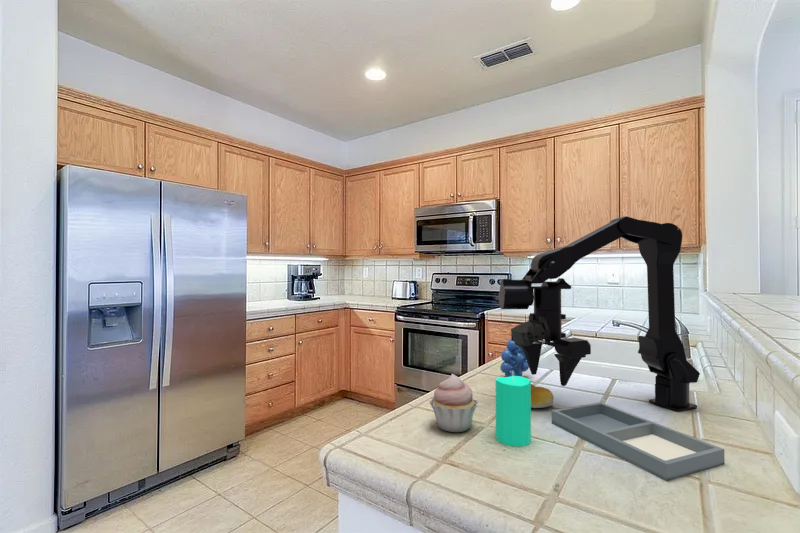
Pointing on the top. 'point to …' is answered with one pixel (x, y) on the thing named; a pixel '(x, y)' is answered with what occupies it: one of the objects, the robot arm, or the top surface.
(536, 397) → the bread roll
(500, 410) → the candle
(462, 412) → the cupcake
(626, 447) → the gray divided tray
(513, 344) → the grapes
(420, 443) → the top surface
